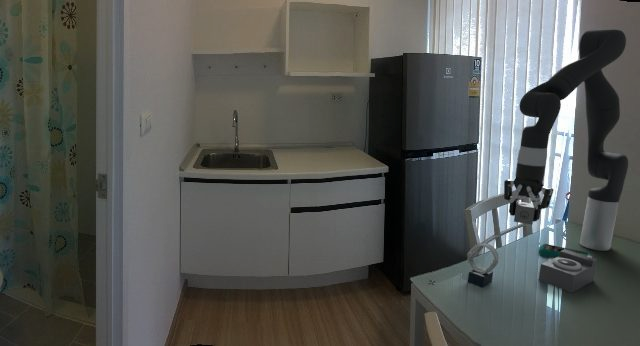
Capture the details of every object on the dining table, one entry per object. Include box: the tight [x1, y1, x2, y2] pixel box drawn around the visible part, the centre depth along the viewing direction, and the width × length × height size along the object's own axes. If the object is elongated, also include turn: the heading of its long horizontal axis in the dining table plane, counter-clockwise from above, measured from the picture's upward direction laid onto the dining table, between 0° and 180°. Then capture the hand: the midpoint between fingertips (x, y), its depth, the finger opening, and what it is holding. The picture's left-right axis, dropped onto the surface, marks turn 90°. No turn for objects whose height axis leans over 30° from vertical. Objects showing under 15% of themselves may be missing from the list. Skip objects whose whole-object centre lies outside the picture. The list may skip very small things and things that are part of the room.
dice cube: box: [513, 201, 535, 225], centre depth 133 cm, size 5×5×5 cm
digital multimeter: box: [538, 243, 592, 259], centre depth 147 cm, size 7×15×3 cm, turn 58°
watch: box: [466, 242, 499, 289], centre depth 124 cm, size 6×8×11 cm
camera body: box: [537, 249, 598, 293], centre depth 128 cm, size 14×9×7 cm, turn 128°
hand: (523, 217), depth 134 cm, fingers closed on dice cube, 6 cm apart
